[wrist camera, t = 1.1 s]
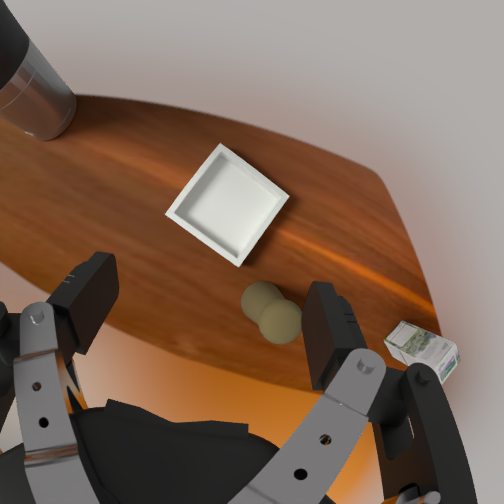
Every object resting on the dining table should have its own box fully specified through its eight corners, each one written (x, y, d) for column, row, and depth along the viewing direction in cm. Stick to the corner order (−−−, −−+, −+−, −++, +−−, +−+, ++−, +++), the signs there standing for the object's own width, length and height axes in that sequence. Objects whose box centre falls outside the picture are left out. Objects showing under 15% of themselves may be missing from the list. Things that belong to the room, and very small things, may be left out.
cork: (272, 274, 40) (302, 290, 29) (287, 310, 41) (318, 336, 30) (234, 291, 39) (250, 315, 28) (250, 327, 40) (270, 360, 29)
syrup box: (392, 357, 47) (441, 387, 32) (381, 339, 45) (435, 369, 31) (410, 336, 47) (461, 361, 33) (401, 318, 46) (456, 341, 32)
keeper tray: (166, 215, 36) (165, 214, 33) (218, 148, 36) (220, 143, 34) (235, 264, 38) (238, 267, 36) (283, 198, 39) (289, 196, 37)
